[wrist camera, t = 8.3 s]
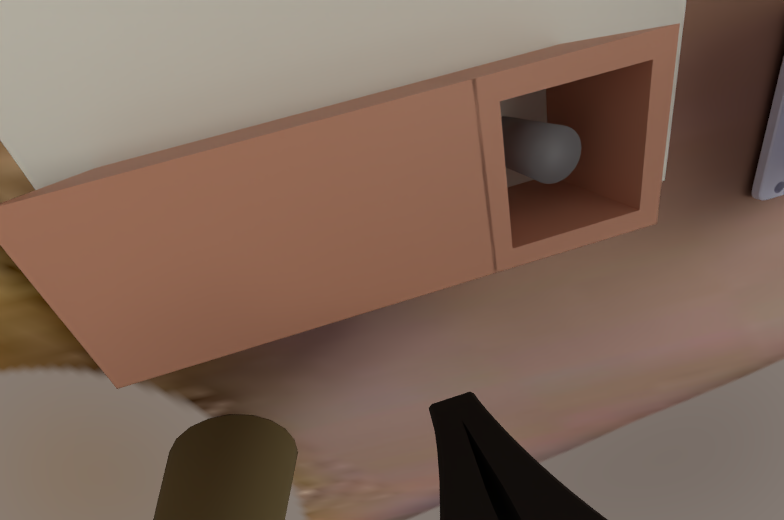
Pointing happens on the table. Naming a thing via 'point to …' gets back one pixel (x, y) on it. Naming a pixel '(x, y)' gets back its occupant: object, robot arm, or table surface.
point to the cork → (228, 471)
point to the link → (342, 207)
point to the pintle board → (270, 69)
